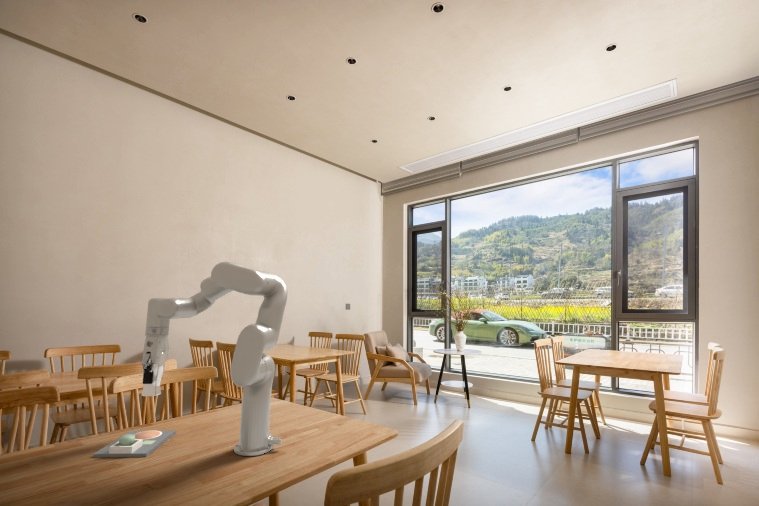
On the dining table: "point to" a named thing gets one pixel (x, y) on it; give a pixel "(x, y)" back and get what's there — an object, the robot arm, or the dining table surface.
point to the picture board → (136, 444)
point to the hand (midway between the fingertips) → (152, 381)
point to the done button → (126, 439)
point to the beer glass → (155, 378)
